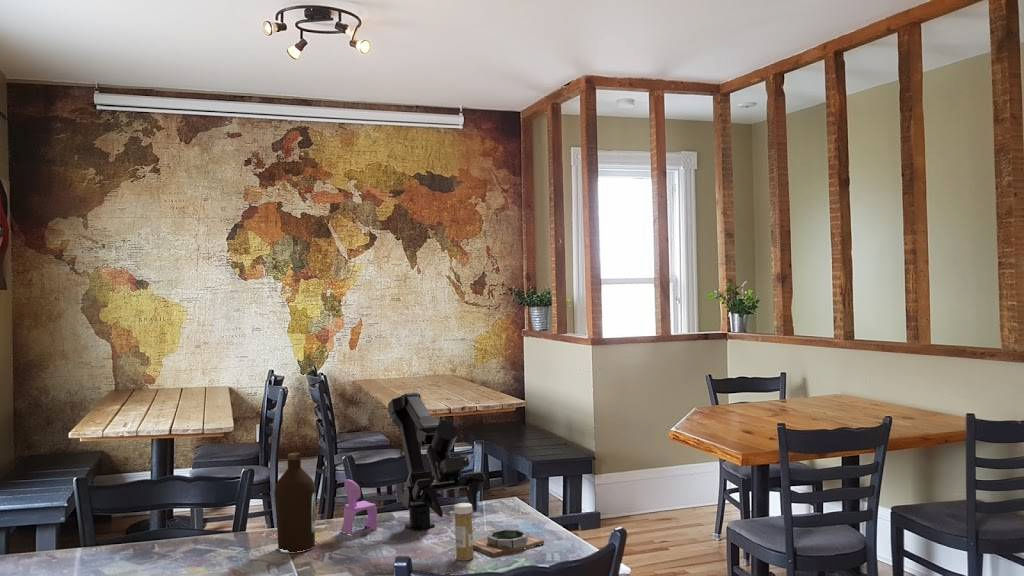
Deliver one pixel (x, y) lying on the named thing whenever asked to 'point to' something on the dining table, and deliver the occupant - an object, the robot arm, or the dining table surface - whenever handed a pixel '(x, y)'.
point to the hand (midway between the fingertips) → (458, 513)
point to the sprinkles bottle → (463, 531)
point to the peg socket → (507, 538)
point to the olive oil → (295, 507)
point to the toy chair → (357, 508)
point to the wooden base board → (492, 551)
